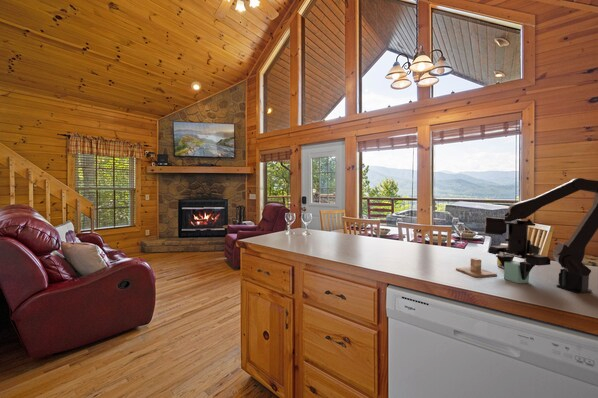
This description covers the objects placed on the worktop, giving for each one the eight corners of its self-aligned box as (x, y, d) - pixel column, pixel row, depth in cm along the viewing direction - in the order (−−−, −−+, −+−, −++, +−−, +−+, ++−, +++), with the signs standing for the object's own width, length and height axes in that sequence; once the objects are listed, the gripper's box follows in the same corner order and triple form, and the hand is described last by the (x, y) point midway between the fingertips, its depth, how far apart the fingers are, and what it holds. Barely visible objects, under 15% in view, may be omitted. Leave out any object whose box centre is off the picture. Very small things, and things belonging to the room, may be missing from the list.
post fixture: (496, 275, 105) (497, 261, 105) (476, 277, 103) (476, 263, 103) (475, 268, 115) (475, 255, 115) (455, 269, 113) (456, 256, 113)
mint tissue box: (528, 282, 98) (529, 264, 98) (517, 283, 97) (518, 265, 96) (514, 277, 103) (515, 261, 103) (503, 278, 102) (504, 261, 101)
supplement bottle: (498, 267, 116) (499, 244, 116) (496, 264, 121) (496, 242, 121) (514, 269, 113) (515, 246, 113) (511, 266, 118) (512, 243, 118)
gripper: (563, 240, 92) (561, 284, 92) (510, 231, 110) (508, 268, 111) (538, 241, 89) (536, 286, 90) (488, 232, 108) (487, 270, 108)
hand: (516, 277), depth 100 cm, fingers closed on mint tissue box, 5 cm apart
